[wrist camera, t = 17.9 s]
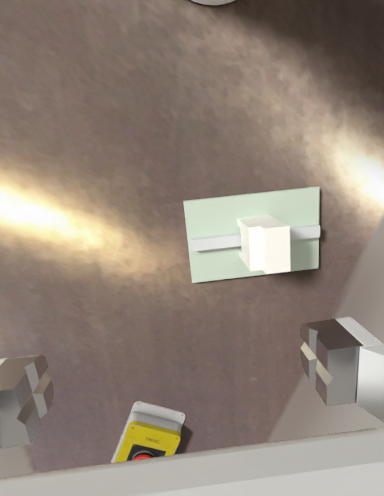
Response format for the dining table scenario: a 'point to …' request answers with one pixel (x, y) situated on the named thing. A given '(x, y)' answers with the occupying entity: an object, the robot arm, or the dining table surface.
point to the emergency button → (149, 433)
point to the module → (265, 244)
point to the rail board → (229, 236)
